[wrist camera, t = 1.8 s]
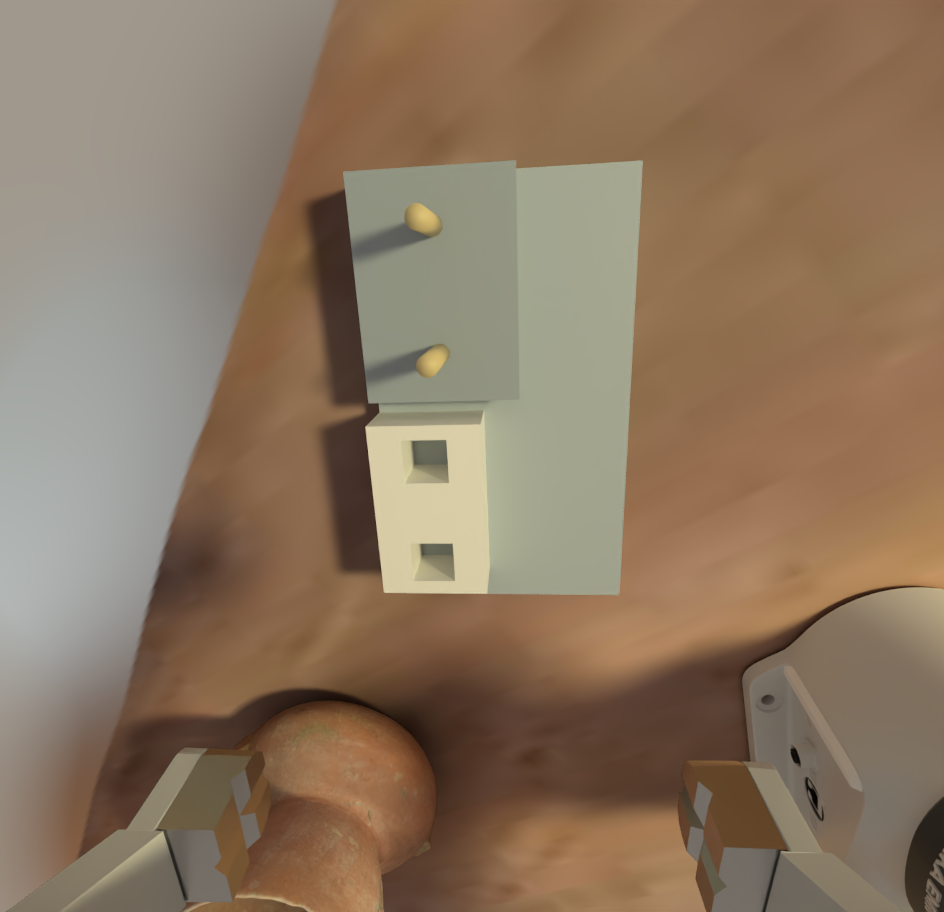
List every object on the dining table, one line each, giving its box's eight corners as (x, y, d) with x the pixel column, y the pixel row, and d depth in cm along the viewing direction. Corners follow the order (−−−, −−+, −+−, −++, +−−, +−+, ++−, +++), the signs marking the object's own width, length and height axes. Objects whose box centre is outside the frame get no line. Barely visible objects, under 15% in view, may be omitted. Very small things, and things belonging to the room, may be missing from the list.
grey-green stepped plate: (615, 584, 34) (640, 661, 27) (401, 582, 35) (374, 656, 28) (637, 165, 26) (679, 127, 19) (362, 183, 28) (311, 152, 21)
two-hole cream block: (489, 566, 33) (487, 593, 30) (395, 565, 33) (384, 592, 31) (483, 409, 30) (480, 424, 27) (379, 412, 30) (365, 426, 27)
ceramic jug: (493, 754, 40) (478, 996, 26) (393, 858, 44) (335, 1112, 30) (288, 626, 38) (157, 815, 24) (204, 748, 42) (53, 966, 29)
